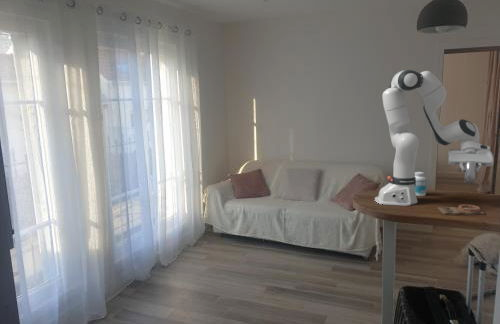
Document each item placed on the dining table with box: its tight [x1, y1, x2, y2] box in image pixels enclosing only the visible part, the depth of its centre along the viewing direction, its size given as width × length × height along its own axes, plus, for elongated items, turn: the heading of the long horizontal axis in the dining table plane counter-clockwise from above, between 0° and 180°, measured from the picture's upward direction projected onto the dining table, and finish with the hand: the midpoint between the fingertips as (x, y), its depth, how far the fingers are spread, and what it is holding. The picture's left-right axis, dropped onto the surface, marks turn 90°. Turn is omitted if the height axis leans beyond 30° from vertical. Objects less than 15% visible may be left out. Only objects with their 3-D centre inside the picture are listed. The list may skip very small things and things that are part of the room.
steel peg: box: [464, 161, 477, 184], centre depth 189 cm, size 4×4×11 cm
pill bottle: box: [415, 171, 427, 197], centre depth 217 cm, size 8×7×14 cm
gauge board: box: [437, 204, 485, 216], centre depth 183 cm, size 18×10×2 cm, turn 81°
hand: (470, 171), depth 188 cm, fingers closed on steel peg, 4 cm apart
